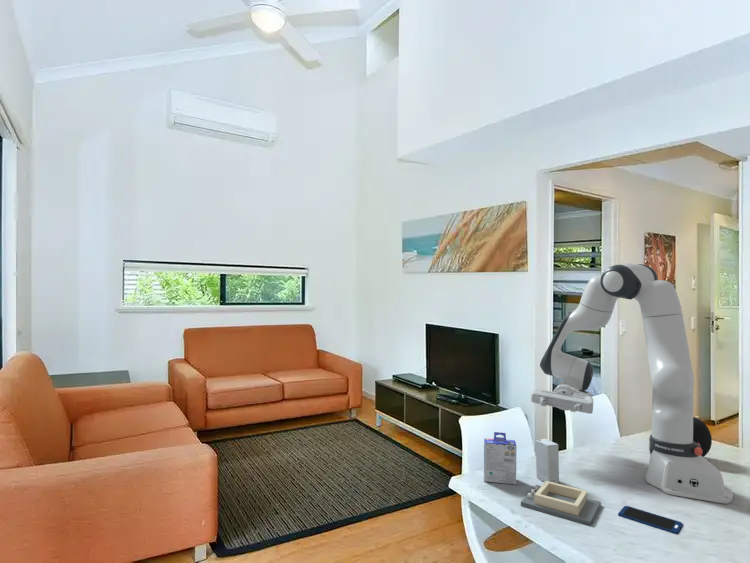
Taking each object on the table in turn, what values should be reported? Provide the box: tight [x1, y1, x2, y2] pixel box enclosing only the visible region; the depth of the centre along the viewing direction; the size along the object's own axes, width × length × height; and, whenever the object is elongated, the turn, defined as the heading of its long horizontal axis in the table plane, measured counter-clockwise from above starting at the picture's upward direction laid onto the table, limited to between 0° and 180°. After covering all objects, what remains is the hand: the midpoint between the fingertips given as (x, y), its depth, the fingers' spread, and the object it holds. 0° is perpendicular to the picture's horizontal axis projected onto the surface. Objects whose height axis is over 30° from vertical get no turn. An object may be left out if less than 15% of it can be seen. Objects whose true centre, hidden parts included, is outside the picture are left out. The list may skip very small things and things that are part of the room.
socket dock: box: [520, 481, 602, 526], centre depth 132 cm, size 18×14×4 cm
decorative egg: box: [693, 416, 713, 458], centre depth 169 cm, size 12×12×15 cm
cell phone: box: [617, 505, 684, 535], centre depth 124 cm, size 7×14×1 cm, turn 47°
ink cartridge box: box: [483, 431, 517, 485], centre depth 148 cm, size 10×6×14 cm, turn 78°
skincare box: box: [535, 438, 560, 484], centre depth 148 cm, size 6×4×12 cm
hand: (557, 406), depth 157 cm, fingers open, 8 cm apart
